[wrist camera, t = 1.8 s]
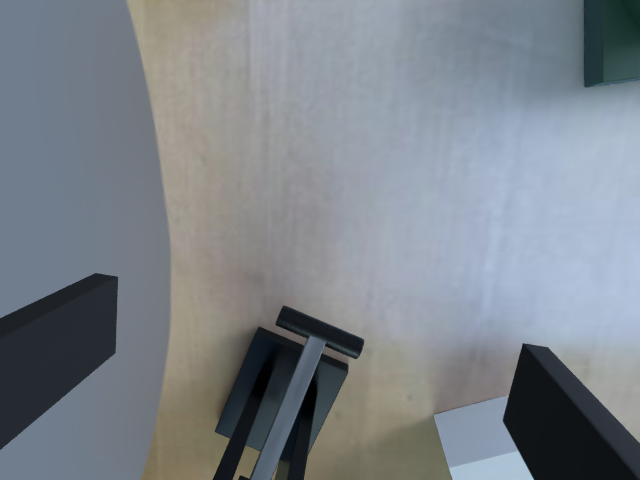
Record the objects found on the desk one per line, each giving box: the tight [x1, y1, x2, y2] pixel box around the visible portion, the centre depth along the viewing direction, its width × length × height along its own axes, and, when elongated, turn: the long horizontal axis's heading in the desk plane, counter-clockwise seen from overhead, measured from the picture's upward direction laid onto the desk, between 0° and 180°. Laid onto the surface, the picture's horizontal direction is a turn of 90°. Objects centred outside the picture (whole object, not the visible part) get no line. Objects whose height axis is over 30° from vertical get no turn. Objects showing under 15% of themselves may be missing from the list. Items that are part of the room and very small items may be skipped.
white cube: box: [434, 396, 534, 480], centre depth 32 cm, size 6×6×6 cm
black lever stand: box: [213, 327, 348, 480], centre depth 29 cm, size 10×8×14 cm
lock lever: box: [238, 305, 364, 480], centre depth 25 cm, size 13×6×2 cm, turn 157°
